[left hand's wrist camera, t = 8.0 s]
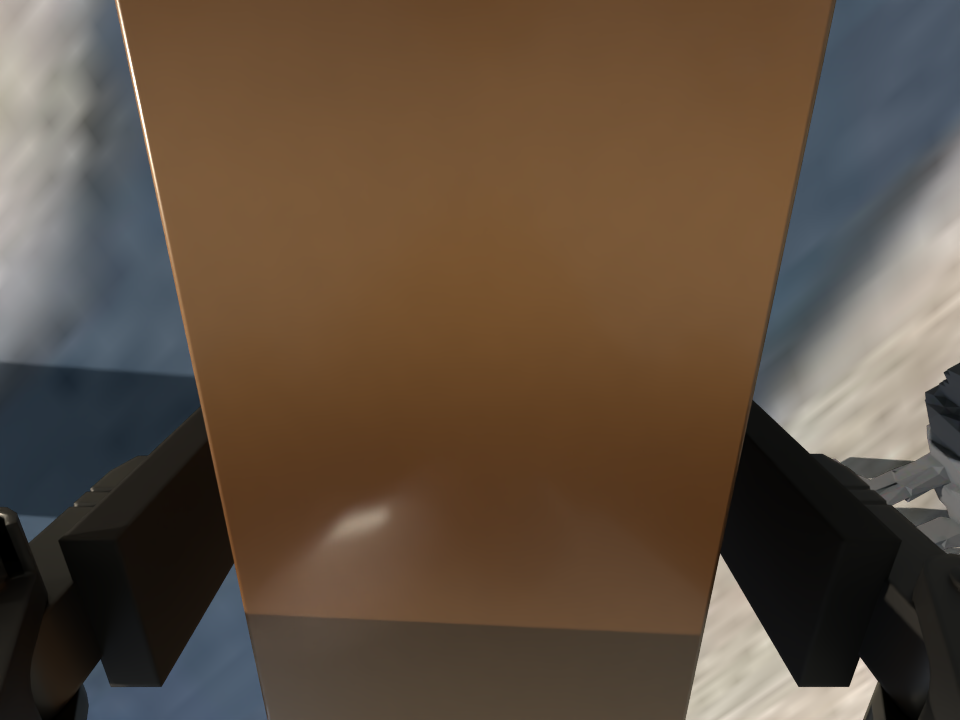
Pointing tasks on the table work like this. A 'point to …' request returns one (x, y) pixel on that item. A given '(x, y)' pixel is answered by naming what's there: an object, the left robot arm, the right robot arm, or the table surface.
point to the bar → (475, 327)
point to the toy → (933, 464)
